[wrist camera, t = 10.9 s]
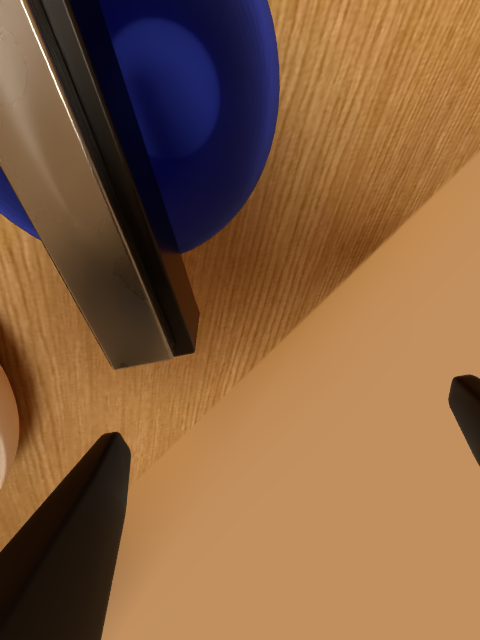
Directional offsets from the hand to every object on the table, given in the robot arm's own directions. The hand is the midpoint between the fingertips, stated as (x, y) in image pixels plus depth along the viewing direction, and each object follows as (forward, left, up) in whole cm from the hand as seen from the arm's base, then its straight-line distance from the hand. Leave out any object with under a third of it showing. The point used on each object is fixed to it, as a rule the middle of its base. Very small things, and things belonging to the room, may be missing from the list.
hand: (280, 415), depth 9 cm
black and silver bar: (+7, -2, -3) cm, 7 cm away
